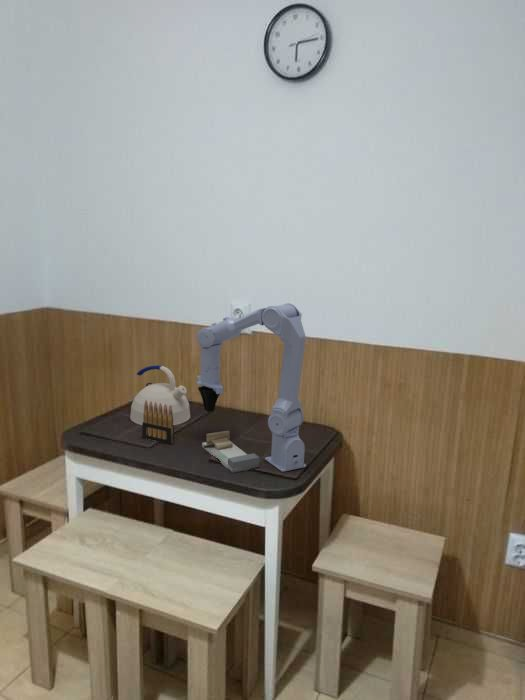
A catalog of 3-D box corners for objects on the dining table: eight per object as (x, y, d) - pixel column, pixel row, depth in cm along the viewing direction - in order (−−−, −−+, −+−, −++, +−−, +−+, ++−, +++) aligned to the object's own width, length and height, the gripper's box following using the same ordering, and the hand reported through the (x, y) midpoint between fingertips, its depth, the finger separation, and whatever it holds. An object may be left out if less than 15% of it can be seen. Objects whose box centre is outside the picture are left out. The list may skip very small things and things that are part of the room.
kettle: (165, 432, 170) (165, 376, 166) (116, 419, 180) (115, 366, 176) (203, 415, 187) (203, 364, 183) (157, 404, 197) (157, 356, 193)
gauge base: (259, 467, 146) (259, 457, 146) (232, 473, 142) (233, 462, 142) (226, 442, 163) (226, 432, 162) (202, 446, 159) (202, 437, 159)
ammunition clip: (141, 438, 164) (141, 400, 161) (145, 436, 166) (145, 398, 163) (171, 444, 160) (171, 406, 157) (174, 442, 161) (174, 404, 159)
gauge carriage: (235, 446, 157) (235, 436, 156) (207, 451, 152) (207, 441, 152) (227, 439, 161) (227, 430, 160) (199, 444, 157) (200, 434, 156)
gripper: (188, 362, 164) (187, 405, 167) (208, 373, 152) (207, 419, 154) (209, 360, 167) (208, 402, 170) (230, 371, 155) (229, 416, 158)
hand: (209, 410), depth 163 cm, fingers closed
